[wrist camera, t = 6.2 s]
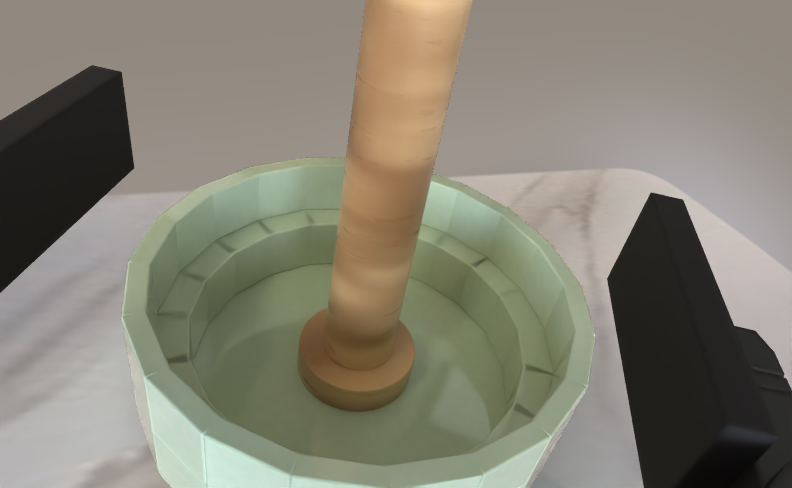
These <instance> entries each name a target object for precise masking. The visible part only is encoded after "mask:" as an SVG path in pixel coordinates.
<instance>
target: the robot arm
mask: <svg viewBox="0 0 792 488" xmlns="http://www.w3.org/2000/svg"><path fill="white" fill-rule="evenodd" d="M133 169H134V163H133V155H132V148H131V140H130V132H129V125H128V117H127V110H126V102H125V95H124V87H123V79H122V72H119V71H115V70H110V69H106V68H102V67H97V66H93V65H92V66H90V67H88V68H87V69H85V70H83V71H82V72H80V73H78V74H77V75H75V76H73V77H72V78H70V79H68V80H67V81H65V82H63V83H62V84H60V85H58V86H57V87H55V88H53V89H52V90H50V91H48V92H47V93H45V94H43V95H42V96H40V97H39V98H37V99H35V100H33V101H32V102H30V103H28V104H27V105H25V106H23V107H22V108H20V109H18V110H17V111H15V112H13V113H12V114H10V115H8V116H7V117H5V118H3V119H2V120H0V293H1V292H2V291H3V290H4V289H5V288H6V287H7V286H8V285H9V284H10V283H11V282H12V281H13V280H15V279H16V278H17V277H18V276H19V275H20V274H21V273H22V272H23V271H24V270H25V269H26V268H27V267H29V266H30V265H31V264H32V263H33V262H34V261H35V260H36V259H37V258H38V257H39V256H40V255H41V254H42V253H44V252H45V251H46V250H47V249H48V248H49V247H50V246H51V245H52V244H53V243H54V242H55V241H56V240H58V239H59V238H60V237H61V236H62V235H63V234H64V233H65V232H66V231H67V230H68V229H69V228H70V227H71V226H73V225H74V224H75V223H76V222H77V221H78V220H79V219H80V218H81V217H82V216H83V215H84V214H85V213H87V212H88V211H89V210H90V209H91V208H92V207H93V206H94V205H95V204H96V203H97V202H98V201H99V200H100V199H102V198H103V197H104V196H105V195H106V194H107V193H108V192H109V191H110V190H111V189H112V188H113V187H114V186H116V185H117V184H118V183H119V182H120V181H121V180H122V179H123V178H124V177H125V176H126V175H127V174H128V173H129V172H130V171H132V170H133ZM607 280H608V286H609V292H610V297H611V303H612V309H613V314H614V320H615V326H616V331H617V337H618V343H619V348H620V354H621V360H622V365H623V371H624V377H625V382H626V388H627V394H628V399H629V405H630V411H631V416H632V422H633V428H634V433H635V439H636V445H637V451H638V456H639V462H640V468H641V473H642V479H643V485H644V488H792V390H791V388H790V385H789V383H788V381H787V379H786V378H784V372H783V370H782V368H781V366H780V364H779V361H778V359H777V357H776V355H775V353H774V351H773V350H772V349H771V348H770V347H769V346H768V345H767V344H766V342H765V341H764V340H763V339H762V338H761V337H760V336H759V335H758V333H757V332H756V331H754V330H749V329H745V328H741V327H737V326H734V325H733V322H732V320H731V317H730V315H729V312H728V310H727V307H726V305H725V302H724V300H723V297H722V295H721V292H720V290H719V287H718V285H717V283H716V280H715V278H714V275H713V273H712V270H711V268H710V265H709V263H708V260H707V258H706V255H705V253H704V250H703V248H702V245H701V243H700V240H699V238H698V236H697V233H696V231H695V228H694V226H693V223H692V221H691V218H690V216H689V213H688V211H687V208H686V206H685V203H684V201H683V200H682V199H677V198H673V197H669V196H664V195H660V194H655V193H650V195H649V197H648V199H647V201H646V203H645V205H644V207H643V209H642V211H641V213H640V215H639V217H638V219H637V221H636V223H635V225H634V227H633V229H632V231H631V233H630V235H629V237H628V239H627V241H626V243H625V245H624V247H623V249H622V251H621V253H620V255H619V257H618V259H617V260H616V262H615V264H614V266H613V268H612V270H611V272H610V274H609V276H608V278H607Z"/></svg>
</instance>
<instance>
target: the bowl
mask: <svg viewBox="0 0 792 488" xmlns="http://www.w3.org/2000/svg"><path fill="white" fill-rule="evenodd" d="M345 162H346V158H314V157H312V158H311V157H310V158H309V157H306V158H299V159H293V160H287V161H282V162H275V163H269V164H263V165H258V166H252V167H251V168H250V167H248V168H245V169H243V170H240V171H238V172H236V173H233V174H230V175H228V176H225V177H223V178H220V179H218V180H215V181H212V182H210V183H207V184H205V185H202V186H201V187H198V188H196V189H195V190H194V191H192V192H191V193H190V194H188V195H187V196H186V197H184V198H183V199H182V200H180V201H179V202H178V203H176V204H175V205H174V206H172V207H171V208H170V209H168V210H167V211H165V212H164V213H163V214H161V215H160V216H159V217H158V218H157V219H156V220H155V221H154V223H153V225H152V226H151V228H150V229H149V231H148V232H147V234H146V235H145V237H144V238H143V240H142V241H141V243H140V244H139V246H138V247H137V249H136V250H135V252H134V254H133V255H132V257H131V258H130V260H129V261H128V266H127V274H126V282H125V290H124V298H123V306H122V314H121V318H122V319H121V320H122V326H123V332H124V337H125V343H126V348H127V354H128V360H129V365H130V370H131V377H132V382H133V388H134V393H135V399H136V405H137V410H138V415H139V418H140V421H141V424H142V427H143V430H144V432H145V435H146V438H147V441H148V444H149V447H150V449H151V452H152V455H153V458H154V461H155V464H156V466H157V469H158V472H159V473H160V475H161V476H162V477H163V478H164V480H165V481H166V482H167V483H168V484H169V485H170V486H171V487H172V488H529V487H530V486H531V485H532V483H533V482H534V480H535V479H536V478H537V476H538V475H539V473H540V472H541V470H542V468H543V466H544V465H545V463H546V461H547V459H548V458H549V456H550V454H551V452H552V450H553V449H554V447H555V445H556V443H557V442H558V440H559V438H560V436H561V434H562V433H563V431H564V429H565V427H566V426H567V424H568V422H569V420H570V419H571V417H572V415H573V413H574V411H575V410H576V408H577V406H578V404H579V403H580V401H581V399H582V397H583V396H584V394H585V392H586V389H587V388H588V382H589V376H590V369H591V363H592V356H593V350H594V343H595V331H594V327H593V324H592V320H591V317H590V313H589V310H588V306H587V303H586V299H585V296H584V292H583V289H582V287H581V286H580V284H579V282H578V281H577V279H576V278H575V277H574V275H573V274H572V272H571V271H570V270H569V268H568V267H567V265H566V264H565V262H564V261H563V260H562V258H561V257H560V255H559V254H558V253H557V251H556V250H555V248H554V247H553V246H552V245H551V243H550V242H548V241H547V240H546V239H545V238H544V237H543V236H541V235H540V234H539V233H538V232H537V231H535V230H534V229H533V228H532V227H531V226H530V225H528V224H527V223H526V222H525V221H524V220H522V219H521V218H520V217H519V216H518V215H517V214H515V213H514V212H513V211H511V209H509V208H507V207H505V206H503V205H501V204H500V203H498V202H496V201H494V200H492V199H490V198H489V197H487V196H485V195H483V194H481V193H479V192H478V191H476V190H474V189H472V188H470V187H468V186H467V185H464V184H462V183H459V182H456V181H453V180H450V179H447V178H444V177H441V176H438V175H435V174H432V179H431V183H430V187H429V192H428V196H427V200H426V205H425V209H424V213H423V218H422V222H421V226H420V231H419V235H418V239H417V244H416V248H415V252H414V257H413V261H412V265H411V270H410V274H409V278H408V283H407V287H406V291H405V296H404V300H403V304H402V309H401V313H400V317H399V320H400V321H401V322H402V323H403V324H404V325H405V326H406V328H407V329H408V331H409V332H410V334H411V336H412V338H413V341H414V345H415V359H414V362H413V366H412V370H411V374H410V377H409V381H408V384H407V386H406V388H405V389H404V391H403V392H402V393H401V394H400V395H399V397H397V398H396V399H395V400H394V401H392V402H391V403H389V404H387V405H385V406H383V407H381V408H378V409H374V410H369V411H358V412H357V411H347V410H341V409H338V408H334V407H332V406H330V405H327V404H325V403H324V402H322V401H320V400H319V399H317V398H316V397H315V396H313V395H312V394H311V393H310V392H309V391H308V389H307V388H306V387H305V385H304V384H303V382H302V380H301V378H300V375H299V372H298V365H297V360H298V349H299V339H300V334H301V331H302V329H303V327H304V326H305V324H306V323H307V321H308V320H309V319H310V318H311V317H312V316H314V315H315V314H316V313H318V312H319V311H321V310H323V309H325V308H327V307H328V300H329V292H330V284H331V276H332V268H333V260H334V252H335V244H336V236H337V227H338V219H339V211H340V203H341V195H342V187H343V179H344V171H345Z"/></svg>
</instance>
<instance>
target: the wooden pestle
mask: <svg viewBox="0 0 792 488" xmlns="http://www.w3.org/2000/svg"><path fill="white" fill-rule="evenodd" d="M471 5H472V0H365V8H364V16H363V24H362V32H361V41H360V49H359V57H358V65H357V73H356V82H355V89H354V99H353V106H352V114H351V122H350V130H349V139H348V146H347V155H346V162H345V171H344V179H343V187H342V195H341V203H340V211H339V219H338V227H337V236H336V244H335V252H334V260H333V268H332V276H331V284H330V292H329V300H328V307H327V308H325V309H323V310H321V311H319V312H318V313H316V314H315V315H314V316H312V317H311V318H310V319H309V320H308V321H307V323H306V324H305V326H304V327H303V329H302V331H301V334H300V339H299V349H298V360H297V365H298V372H299V375H300V378H301V380H302V382H303V384H304V385H305V387H306V388H307V389H308V391H309V392H310V393H311V394H312V395H313V396H315V397H316V398H317V399H319V400H320V401H322V402H324V403H325V404H327V405H330V406H332V407H334V408H338V409H341V410H347V411H357V412H358V411H369V410H374V409H378V408H381V407H383V406H385V405H387V404H389V403H391V402H392V401H394V400H395V399H396V398H397V397H399V395H400V394H401V393H402V392H403V391H404V389H405V388H406V386H407V384H408V381H409V377H410V374H411V370H412V366H413V362H414V359H415V345H414V341H413V338H412V336H411V334H410V332H409V331H408V329H407V328H406V326H405V325H404V324H403V323H402V322H401V321H400V320H399V317H400V313H401V309H402V304H403V300H404V296H405V291H406V287H407V283H408V278H409V274H410V270H411V265H412V261H413V257H414V252H415V248H416V244H417V239H418V235H419V231H420V226H421V222H422V218H423V213H424V209H425V205H426V200H427V196H428V192H429V187H430V183H431V179H432V174H433V169H434V165H435V161H436V157H437V152H438V148H439V144H440V140H441V135H442V131H443V127H444V122H445V118H446V113H447V109H448V105H449V100H450V96H451V92H452V87H453V83H454V78H455V74H456V70H457V66H458V61H459V57H460V53H461V48H462V44H463V40H464V35H465V31H466V27H467V22H468V18H469V14H470V9H471Z"/></svg>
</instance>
